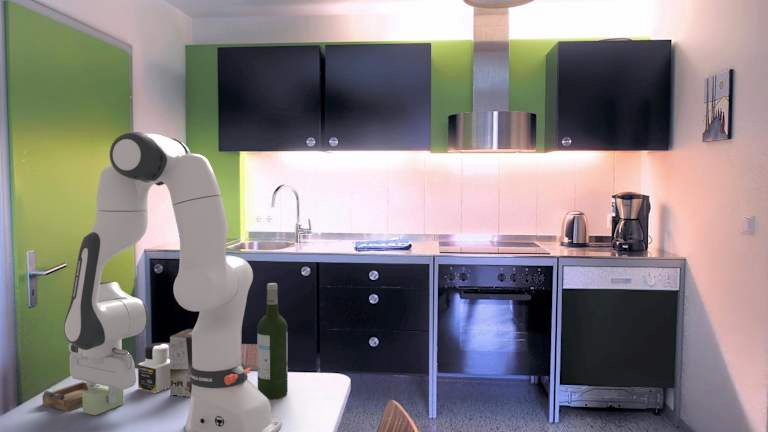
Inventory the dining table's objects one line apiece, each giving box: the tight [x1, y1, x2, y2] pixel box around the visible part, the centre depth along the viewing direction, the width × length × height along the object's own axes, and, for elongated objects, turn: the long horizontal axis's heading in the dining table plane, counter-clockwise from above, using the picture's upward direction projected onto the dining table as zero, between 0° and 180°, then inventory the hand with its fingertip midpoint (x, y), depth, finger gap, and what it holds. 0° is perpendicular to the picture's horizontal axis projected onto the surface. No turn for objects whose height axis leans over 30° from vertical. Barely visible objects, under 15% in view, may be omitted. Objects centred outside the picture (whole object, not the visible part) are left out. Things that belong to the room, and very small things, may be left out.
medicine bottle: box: [137, 342, 170, 393], centre depth 152 cm, size 7×7×12 cm
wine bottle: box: [256, 282, 289, 400], centre depth 147 cm, size 8×8×30 cm
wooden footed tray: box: [42, 381, 100, 412], centre depth 142 cm, size 10×12×4 cm
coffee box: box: [169, 328, 194, 398], centre depth 149 cm, size 9×6×16 cm
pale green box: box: [82, 385, 125, 416], centre depth 137 cm, size 4×8×5 cm, turn 154°
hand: (103, 400), depth 137 cm, fingers closed on pale green box, 4 cm apart
